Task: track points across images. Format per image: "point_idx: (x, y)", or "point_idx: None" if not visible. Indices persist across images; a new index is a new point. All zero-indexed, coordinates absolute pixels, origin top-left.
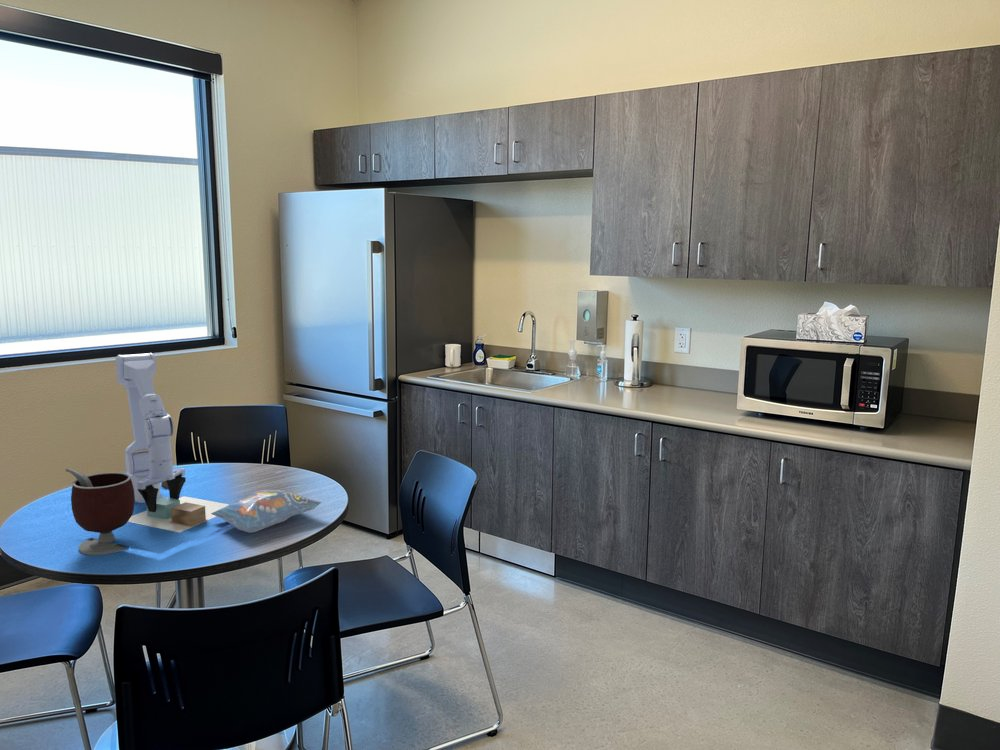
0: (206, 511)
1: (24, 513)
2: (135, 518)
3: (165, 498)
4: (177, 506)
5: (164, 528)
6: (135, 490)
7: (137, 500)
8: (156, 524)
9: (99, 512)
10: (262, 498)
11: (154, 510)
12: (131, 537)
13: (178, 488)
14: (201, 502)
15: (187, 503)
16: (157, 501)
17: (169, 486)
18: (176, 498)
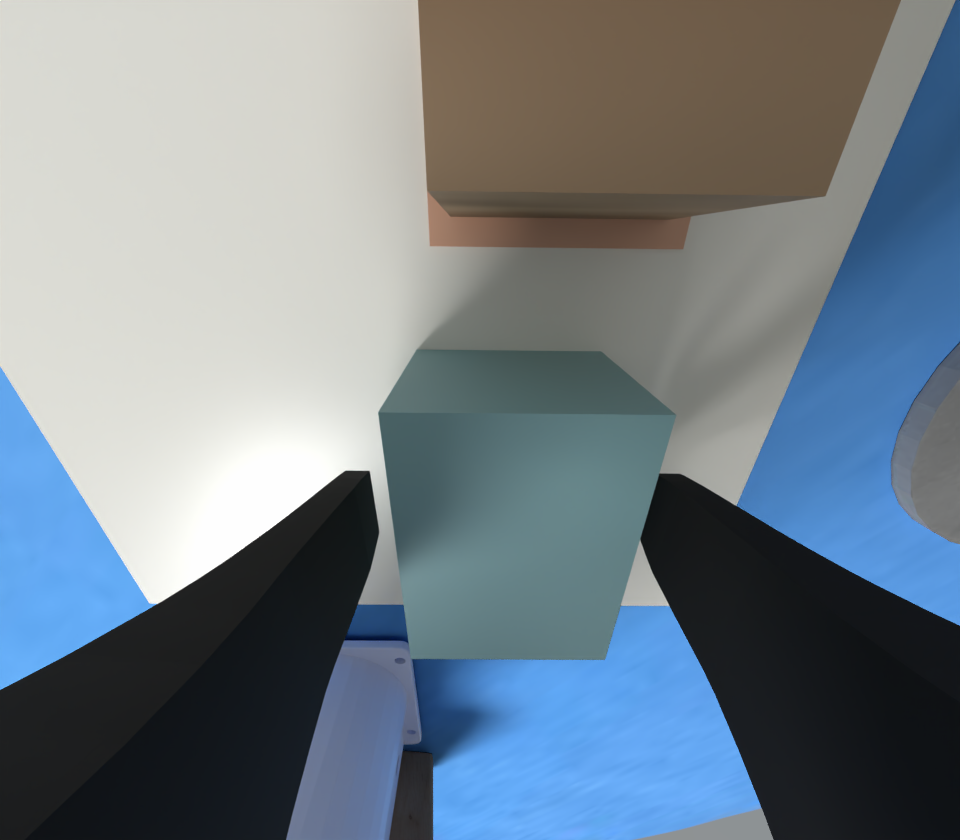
0: (185, 97)
1: (639, 836)
2: (643, 562)
3: (435, 593)
4: (721, 124)
5: (883, 127)
6: (388, 810)
7: (402, 719)
8: (752, 328)
9: None
10: None
11: (693, 481)
12: (936, 358)
13: (226, 632)
14: (94, 405)
15: (467, 56)
16: (561, 592)
17: (291, 773)
18: (345, 508)
